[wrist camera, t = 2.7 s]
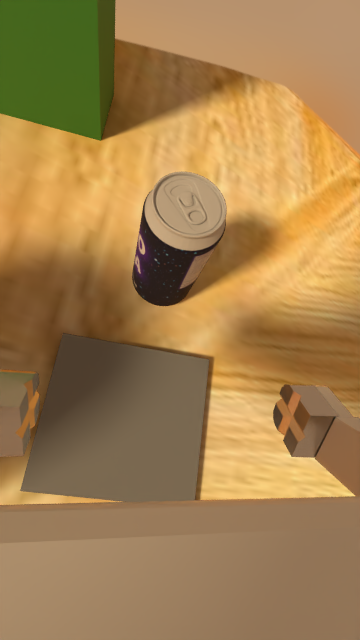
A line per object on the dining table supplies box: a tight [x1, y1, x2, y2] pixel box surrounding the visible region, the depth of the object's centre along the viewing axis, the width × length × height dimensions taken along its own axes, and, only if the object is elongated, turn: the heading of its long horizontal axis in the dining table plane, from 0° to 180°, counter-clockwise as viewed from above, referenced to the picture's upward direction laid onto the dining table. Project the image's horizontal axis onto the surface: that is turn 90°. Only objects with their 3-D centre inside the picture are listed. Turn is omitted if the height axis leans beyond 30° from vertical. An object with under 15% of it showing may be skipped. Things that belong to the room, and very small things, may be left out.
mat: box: [20, 333, 209, 502], centre depth 26 cm, size 12×13×1 cm
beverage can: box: [132, 172, 227, 306], centre depth 25 cm, size 6×6×12 cm
